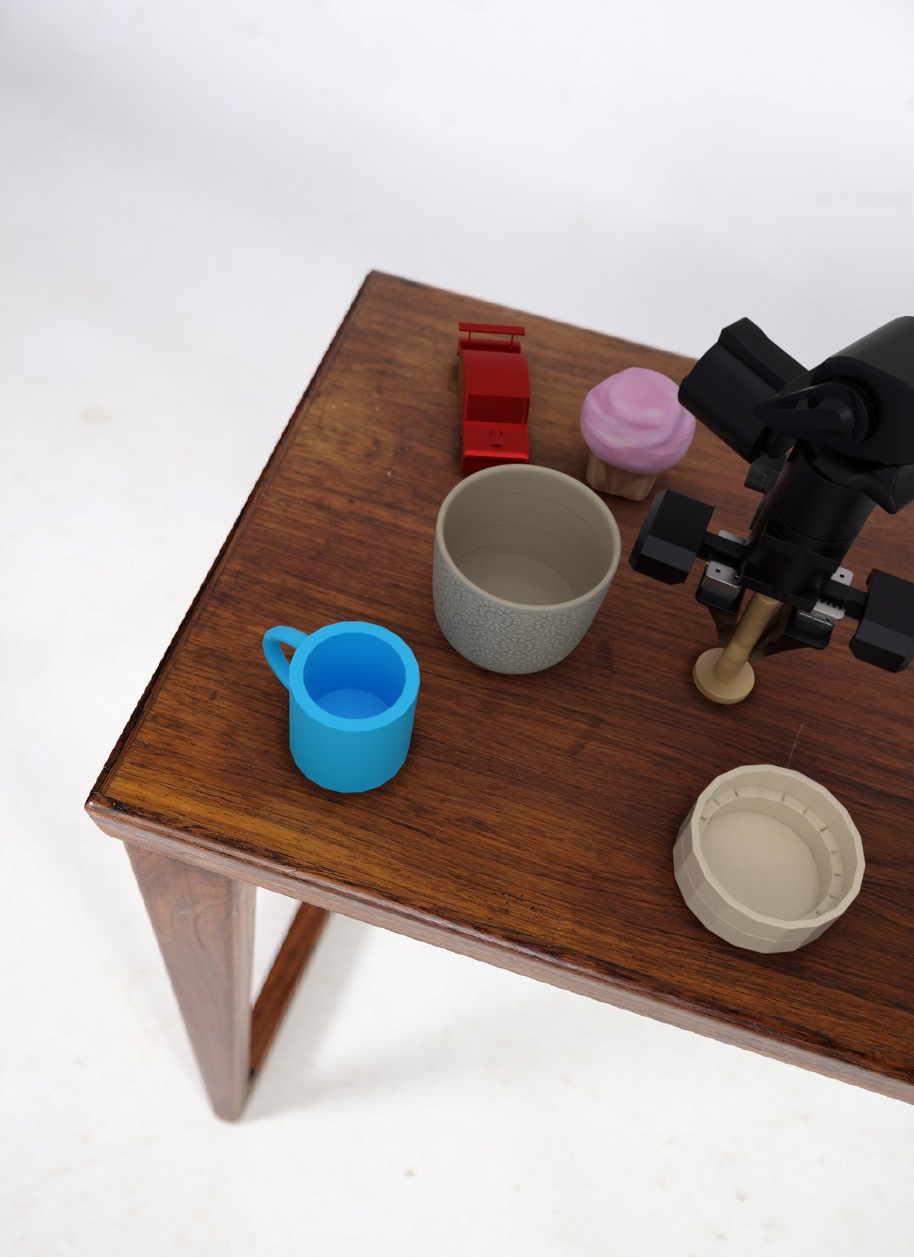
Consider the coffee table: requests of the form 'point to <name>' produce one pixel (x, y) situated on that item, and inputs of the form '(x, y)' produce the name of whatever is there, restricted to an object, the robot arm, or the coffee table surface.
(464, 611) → the planter
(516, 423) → the toy car
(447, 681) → the coffee table surface
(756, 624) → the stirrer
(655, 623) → the coffee table surface
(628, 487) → the cupcake
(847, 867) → the bowl
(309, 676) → the mug
